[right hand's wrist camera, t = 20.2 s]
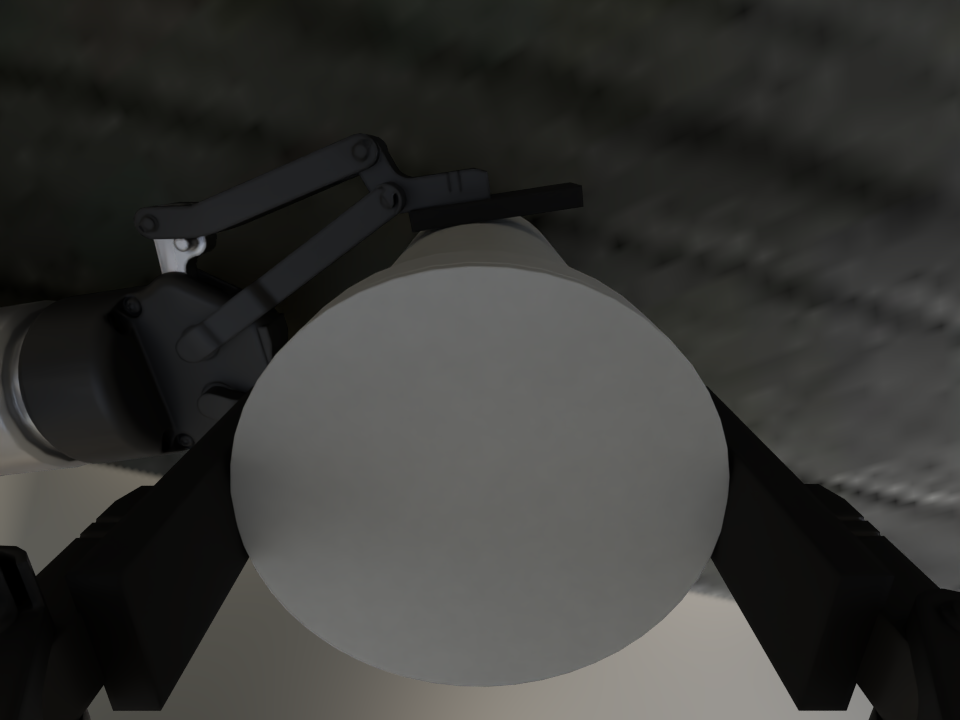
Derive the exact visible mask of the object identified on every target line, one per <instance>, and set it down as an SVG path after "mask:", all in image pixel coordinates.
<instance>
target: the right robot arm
mask: <svg viewBox="0 0 960 720" xmlns="http://www.w3.org/2000/svg"><path fill="white" fill-rule="evenodd" d="M253 387H254V386H252V387H251V388H250V389H249V390H248V391H247V392H246V393H245V394H244V395H243V396H242V397H241V398H240V399H239V400H238V402H237V403H236V404H235V405H234V406H233V407H232V408H231V409H230V410H229V411H228V412H227V413H226V414H225V415H224V416H223V417H222V418H221V419H220V420H219V421H218V422H217V423H216V424H215V425H214V426H213V427H212V428H211V429H210V430H209V431H208V432H207V433H206V434H205V435H204V436H203V437H202V438H201V439H200V440H199V441H198V442H197V443H196V444H195V445H194V446H193V447H192V448H191V449H190V450H189V451H188V452H187V453H186V454H185V455H184V456H183V457H182V458H181V459H180V460H179V461H178V462H177V463H176V464H175V465H174V466H173V467H172V468H171V469H170V470H169V471H168V472H167V473H166V474H165V475H164V476H163V477H162V478H161V479H160V480H159V481H158V482H157V483H156V484H155V485H154V486H140V487H139V488H137V489H135V490H134V491H132V492H130V493H128V494H127V495H125V496H123V497H122V498H120V499H118V500H116V501H115V502H114V503H113V504H112V505H111V506H110V507H109V508H108V509H106V510H105V511H104V512H103V513H102V514H101V515H100V516H99V517H98V518H97V519H96V523H92V524H91V525H90V526H88V527H87V528H86V529H85V530H84V531H83V532H82V533H81V534H80V538H76V539H75V540H74V541H73V542H71V543H70V544H69V545H68V546H67V547H66V548H65V549H64V550H63V551H62V552H61V553H60V554H59V555H58V556H57V557H56V558H55V559H54V560H52V561H51V562H50V563H49V564H48V565H47V566H46V567H45V568H44V569H43V570H42V571H41V572H40V573H39V574H38V575H37V576H35V573H34V571H33V568H32V566H31V563H30V560H29V558H28V555H27V553H26V551H24V550H22V549H20V548H19V547H17V546H0V720H91V719H90V715H89V712H88V710H87V708H88V706H89V705H90V703H91V702H92V700H93V699H94V698H95V696H96V695H97V694H98V692H99V691H100V689H101V688H102V687H103V685H104V687H105V690H106V692H107V695H108V698H109V701H110V703H111V706H112V709H113V711H161V709H162V708H163V706H164V704H165V702H166V701H167V699H168V697H169V696H170V694H171V692H172V690H173V689H174V687H175V685H176V683H177V682H178V680H179V678H180V676H181V675H182V673H183V671H184V669H185V668H186V666H187V664H188V663H189V661H190V659H191V657H192V656H193V654H194V652H195V650H196V649H197V647H198V645H199V643H200V642H201V640H202V638H203V637H204V635H205V633H206V631H207V630H208V628H209V626H210V624H211V623H212V621H213V619H214V617H215V616H216V614H217V612H218V610H219V609H220V607H221V605H222V604H223V602H224V600H225V598H226V597H227V595H228V593H229V591H230V590H231V588H232V586H233V584H234V583H235V581H236V579H237V577H238V576H239V574H240V572H241V571H242V569H243V567H244V565H245V564H246V562H247V560H248V558H249V555H248V553H247V551H246V549H245V547H244V545H243V542H242V539H241V536H240V533H239V530H238V526H237V522H236V517H235V512H234V507H233V502H232V497H231V486H230V462H231V456H232V449H233V442H234V436H235V432H236V429H237V426H238V423H239V420H240V417H241V413H242V410H243V407H244V405H245V403H246V401H247V399H248V397H249V395H250V393H251V391H252V389H253ZM706 388H707V390H708V391H709V393H710V396H711V398H712V400H713V403H714V405H715V408H716V410H717V412H718V415H719V417H720V419H721V424H722V428H723V432H724V436H725V440H726V444H727V449H728V462H729V475H730V478H729V491H728V499H727V505H726V510H725V514H724V519H723V524H722V529H721V532H720V535H719V537H718V540H717V542H716V545H715V547H714V550H713V552H712V555H711V559H712V561H713V562H714V564H715V566H716V568H717V569H718V571H719V573H720V575H721V576H722V578H723V580H724V582H725V583H726V585H727V587H728V589H729V590H730V592H731V594H732V595H733V597H734V599H735V601H736V602H737V604H738V606H739V607H740V609H741V611H742V613H743V615H744V616H745V618H746V620H747V621H748V623H749V625H750V627H751V628H752V630H753V632H754V634H755V635H756V637H757V639H758V641H759V642H760V644H761V646H762V648H763V649H764V651H765V653H766V654H767V656H768V658H769V660H770V661H771V663H772V665H773V667H774V668H775V670H776V672H777V674H778V675H779V677H780V679H781V680H782V682H783V684H784V686H785V687H786V689H787V691H788V693H789V694H790V696H791V698H792V700H793V701H794V703H795V705H796V707H797V708H798V710H799V711H846V710H847V708H848V705H849V702H850V699H851V697H852V694H853V691H854V688H855V686H856V683H857V684H858V686H859V687H860V688H861V690H862V691H863V692H864V694H865V695H866V697H867V698H868V700H869V701H870V702H871V704H872V705H873V710H872V713H871V715H870V718H869V720H960V592H957V591H952V590H947V589H940V588H939V587H938V586H937V585H936V584H935V583H934V582H932V581H931V580H930V579H929V578H928V577H927V576H926V575H925V574H924V573H923V572H922V571H921V570H920V569H919V568H918V567H916V566H915V565H914V564H913V563H912V562H911V561H910V560H909V559H908V558H907V557H906V556H905V555H904V554H903V553H902V552H900V551H899V550H898V549H897V548H896V547H895V546H894V545H893V544H892V543H891V542H890V541H889V540H888V539H887V538H886V537H884V536H880V532H879V531H878V530H877V529H876V528H875V527H874V526H873V525H872V524H871V523H870V522H868V521H864V517H863V516H862V515H861V514H860V513H859V512H858V511H857V510H856V509H855V508H854V507H852V506H851V505H850V504H849V503H848V502H847V501H846V500H845V499H843V498H842V497H840V496H838V495H836V494H835V493H833V492H831V491H830V490H828V489H826V488H824V487H823V486H821V485H819V484H803V483H802V482H801V481H800V480H799V479H798V478H797V477H796V475H795V474H794V473H793V472H792V471H791V470H790V469H789V468H788V467H787V466H786V465H785V464H784V463H783V462H782V461H781V460H780V459H779V458H778V457H777V456H776V455H775V454H774V453H773V452H772V451H771V450H770V449H769V448H768V447H767V446H766V445H765V444H764V443H763V442H762V441H761V440H760V439H759V438H758V437H757V436H756V435H755V434H754V433H753V432H752V431H751V430H750V429H749V428H748V427H747V426H746V425H745V424H744V423H743V422H742V421H741V420H740V419H739V418H738V417H737V416H736V415H735V414H734V413H733V412H732V411H731V410H730V409H729V408H728V407H727V406H726V405H725V404H724V403H723V402H722V401H721V400H720V399H719V398H718V397H717V396H716V395H715V394H714V393H713V392H712V391H711V390H710V389H709V388H708V387H707V386H706Z"/></svg>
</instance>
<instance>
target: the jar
mask: <svg viewBox="0 0 960 720" xmlns="http://www.w3.org/2000/svg"><path fill="white" fill-rule="evenodd" d="M468 250H479V251H505V252H512V253H518V254H524V255H530V256H536V257H539V258H543V259H546V260H549V261H553V262H556V263H559V264H563V265H566V266H568V265H567V264H566V263H565V262H564V260H563V259H562V258H561V257H560V255H559V254H558V253H557V252H556V250H555V249H554V248H553V247H552V246H551V244H550V243H549V242H548V241H547V239H546V238H545V237H544V236H543V235H542V234H541V232H540V231H539V230H538V229H537V228H536V227H534V226H533V225H532V224H531V223H530V222H528V221H527V220H525V219H524V218H522V217H521V216H518V217H511V218H505V219H498V220H492V221H485V222H478V223H472V224H465V225H458V226H452V227H445V228H439V229H432V230H425V231H420V232H419V233H418V234H417V235H416V237H415V238H414V239H413V240H412V242H411V243H410V244H409V245H408V246H407V248H406V249H405V250H404V251H403V253H402V254H401V255H400V256H399V258H398V259H397V260H396V261H395V262H394V264H393V265H392V266H395V265H397V264H400V263H403V262H405V261H409V260H413V259H417V258H421V257H426V256H430V255H434V254H439V253H449V252H458V251H468ZM392 266H391V267H392Z"/></svg>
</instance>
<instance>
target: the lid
mask: <svg viewBox="0 0 960 720" xmlns="http://www.w3.org/2000/svg"><path fill="white" fill-rule="evenodd" d="M729 478H730V475H729V462H728V449H727V444H726V440H725V436H724V432H723V428H722V424H721V419H720V417H719V415H718V412H717V410H716V408H715V405H714V403H713V400H712V398H711V396H710V393H709V391H708V390H707V388H706V386H705V385H704V383H703V382H702V380H701V378H700V377H699V375H698V374H697V372H696V370H695V369H694V367H693V365H692V364H691V363H690V362H689V361H688V360H687V358H686V357H685V356H684V355H683V354H682V353H681V351H680V350H679V349H678V348H677V347H676V346H675V344H674V343H673V342H672V341H671V340H670V339H669V338H668V337H667V336H666V335H665V334H664V333H663V332H662V331H661V330H660V329H659V328H658V327H657V326H655V325H654V324H653V323H652V322H651V321H650V320H649V319H648V318H647V317H646V316H645V315H644V314H643V313H642V312H640V311H639V310H638V309H637V308H636V307H635V306H633V305H632V304H631V303H630V302H629V301H628V300H626V299H625V298H624V297H623V296H622V295H620V294H619V293H617V292H615V291H614V290H612V289H611V288H609V287H608V286H606V285H604V284H603V283H601V282H600V281H598V280H597V279H595V278H593V277H590V276H588V275H586V274H584V273H582V272H579V271H577V270H575V269H573V268H571V267H569V266H566V265H563V264H559V263H556V262H553V261H549V260H546V259H543V258H539V257H536V256H530V255H524V254H518V253H512V252H505V251H479V250H468V251H458V252H449V253H439V254H434V255H430V256H426V257H421V258H417V259H413V260H409V261H405V262H403V263H400V264H397V265H395V266H392V267H390V268H387V269H385V270H382V271H379V272H377V273H375V274H373V275H371V276H369V277H367V278H366V279H364V280H362V281H360V282H359V283H357V284H355V285H353V286H351V287H350V288H348V289H347V290H345V291H344V292H343V293H341V294H340V295H339V296H337V297H336V298H335V299H333V300H332V301H331V302H329V303H328V304H327V305H325V306H324V307H323V308H322V309H321V310H320V311H319V312H318V313H317V314H316V315H315V316H314V317H313V318H312V319H311V320H309V321H308V322H307V323H306V324H305V325H304V326H303V327H302V328H301V329H300V330H299V331H298V332H297V333H296V334H295V335H294V336H293V337H292V338H291V339H290V340H289V341H288V342H287V343H286V344H285V345H284V346H283V347H282V348H281V349H280V350H279V351H278V353H277V354H276V355H275V356H274V357H273V359H272V360H271V362H270V363H269V364H268V366H267V367H266V369H265V370H264V371H263V373H262V374H261V376H260V377H259V378H258V380H257V381H256V383H255V385H254V387H253V389H252V391H251V393H250V395H249V397H248V399H247V401H246V403H245V405H244V407H243V410H242V413H241V417H240V420H239V423H238V426H237V429H236V432H235V436H234V442H233V449H232V456H231V462H230V486H231V497H232V502H233V507H234V512H235V517H236V522H237V526H238V530H239V533H240V536H241V539H242V542H243V545H244V547H245V549H246V551H247V553H248V555H249V557H250V559H251V561H252V563H253V565H254V567H255V569H256V571H257V572H258V574H259V575H260V577H261V578H262V580H263V581H264V583H265V584H266V586H267V587H268V588H269V590H270V591H271V593H272V594H273V595H274V596H275V597H276V598H277V599H278V601H279V602H280V603H281V604H282V605H283V606H284V607H285V609H286V610H287V611H288V612H289V613H290V614H291V615H293V616H294V617H295V618H296V619H297V620H298V621H299V622H300V623H302V624H303V625H304V626H305V627H306V628H307V629H308V630H310V631H311V632H313V633H314V634H315V635H317V636H318V637H320V638H321V639H323V640H324V641H325V642H327V643H328V644H330V645H331V646H333V647H335V648H337V649H338V650H340V651H342V652H344V653H346V654H347V655H349V656H351V657H353V658H355V659H357V660H359V661H362V662H364V663H366V664H369V665H371V666H373V667H376V668H378V669H381V670H384V671H387V672H390V673H394V674H397V675H400V676H403V677H407V678H411V679H416V680H421V681H426V682H430V683H438V684H446V685H455V686H483V687H489V686H503V685H516V684H521V683H527V682H533V681H539V680H544V679H548V678H551V677H555V676H559V675H563V674H566V673H570V672H572V671H575V670H578V669H580V668H583V667H586V666H588V665H591V664H594V663H596V662H598V661H600V660H602V659H604V658H606V657H608V656H610V655H612V654H614V653H616V652H618V651H620V650H621V649H623V648H624V647H626V646H628V645H629V644H631V643H632V642H634V641H635V640H637V639H639V638H640V637H642V636H643V635H644V634H645V633H647V632H648V631H649V630H650V629H652V628H653V627H654V626H655V625H657V624H658V623H659V622H660V621H662V620H663V619H664V618H665V617H666V616H667V615H668V614H669V613H670V612H671V611H672V610H673V609H674V608H675V607H676V606H677V605H678V603H680V601H681V600H682V599H683V598H684V597H685V595H686V594H687V593H688V591H689V590H690V589H691V587H692V586H693V585H694V583H695V582H696V581H697V580H698V578H699V576H700V574H701V573H702V571H703V569H704V567H705V566H706V564H707V562H708V560H709V559H710V557H711V555H712V552H713V550H714V547H715V545H716V542H717V540H718V537H719V535H720V532H721V529H722V524H723V519H724V514H725V510H726V505H727V499H728V491H729Z"/></svg>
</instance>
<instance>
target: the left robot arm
mask: <svg viewBox="0 0 960 720" xmlns="http://www.w3.org/2000/svg"><path fill="white" fill-rule="evenodd" d="M359 175H360V177H361V179H362V180H363V182H364V184H365V185H366V187H367V189H368V190H369V192H370V193H368V194H367V195H366V196H365V197H363V198H362V199H361V200H359V201H358V202H357V203H355V204H354V205H353V206H352V207H350V208H349V209H348V210H346V211H345V212H344V213H343V214H341V215H340V216H339V217H337V218H336V219H335V220H334V221H332V222H331V223H330V224H328V225H327V226H326V227H325V228H323V229H322V230H321V231H319V232H318V233H317V234H315V235H314V236H313V237H312V238H310V239H309V240H308V241H306V242H305V243H304V244H303V245H301V246H300V247H299V248H297V249H296V250H295V251H294V252H292V253H291V254H290V255H288V256H287V257H286V258H285V259H283V260H282V261H281V262H279V263H278V264H277V265H275V266H274V267H273V268H272V269H270V270H269V271H268V272H266V273H265V274H264V275H263V276H261V277H260V278H259V279H257V280H256V281H254V282H253V283H251V284H250V285H249V286H247V287H246V288H244V289H243V290H242V289H240V288H238V287H236V286H234V285H232V284H230V283H228V282H225V281H223V280H221V279H219V278H217V277H215V276H213V275H211V274H209V273H206V272H204V271H202V270H200V269H197V264H196V263H197V259H198V258H199V256H200V255H202V254H204V253H207V252H210V251H211V250H213V249H214V247H215V245H216V239H217V235H216V233H218V232H221V231H225V230H228V229H232V228H235V227H238V226H241V225H244V224H246V223H248V222H251V221H253V220H255V219H258V218H260V217H263V216H265V215H267V214H270V213H272V212H274V211H277V210H279V209H281V208H284V207H286V206H288V205H291V204H293V203H295V202H298V201H300V200H302V199H305V198H307V197H309V196H312V195H314V194H317V193H319V192H321V191H324V190H326V189H328V188H331V187H333V186H335V185H338V184H340V183H342V182H345V181H347V180H349V179H352V178H354V177H356V176H359ZM578 207H583V194H582V186H581V185H577V184H574V183H563V184H557V185H550V186H544V187H537V188H531V189H524V190H518V191H511V192H505V193H498V194H492V195H490V188H489V180H488V173H487V171H484V170H480V169H476V168H470V169H464V170H457V171H451V172H445V173H438V174H432V175H425V176H419V177H411V176H407V175H405V174H403V173H402V172H401V171H400V170H399V169H398V168H397V166H396V165H395V163H394V161H393V159H392V157H391V156H390V154H389V152H388V149H387V145H386V144H385V142H384V141H383V140H382V139H380V138H379V137H376V136H372V135H367V134H361V133H359V134H354V135H351V136H349V137H347V138H345V139H342V140H340V141H338V142H336V143H333V144H331V145H329V146H326V147H324V148H322V149H320V150H317V151H315V152H313V153H310V154H308V155H306V156H304V157H301V158H299V159H297V160H294V161H292V162H290V163H288V164H285V165H283V166H281V167H278V168H276V169H274V170H272V171H269V172H267V173H265V174H262V175H260V176H258V177H256V178H253V179H251V180H249V181H246V182H244V183H242V184H240V185H237V186H235V187H233V188H230V189H228V190H226V191H224V192H221V193H219V194H217V195H214V196H212V197H210V198H208V199H205V200H203V201H201V202H178V203H171V204H164V205H158V206H151V207H145V208H141V209H139V210H138V211H137V212H136V213H135V216H134V225H135V227H136V229H137V231H138V232H139V233H140V234H141V235H142V236H144V237H146V238H148V239H153V240H154V242H155V246H156V250H157V254H158V258H159V263H160V267H161V271H162V274H161V275H159V276H158V277H156V278H155V279H154V280H153V281H152V282H151V283H150V284H149V285H145V286H139V287H132V288H125V289H118V290H112V291H105V292H98V293H92V294H85V295H78V296H72V297H67V298H63V299H60V300H58V301H48V300H44V301H38V302H32V303H25V304H19V305H13V306H6V307H0V476H3V475H11V474H20V473H29V472H37V471H46V470H55V469H64V468H73V467H79V466H83V465H86V464H89V463H107V462H114V461H122V460H130V459H137V458H145V457H152V456H160V455H166V454H171V453H176V452H179V451H183V450H187V449H191V448H192V447H193V446H194V445H195V444H196V443H197V442H198V441H199V440H200V439H201V438H202V437H203V436H204V435H205V434H206V433H207V432H208V431H209V430H210V429H211V428H212V427H213V426H214V425H215V424H216V423H217V422H218V421H219V420H220V419H221V418H222V417H223V416H224V415H225V414H226V413H227V412H228V411H229V410H230V409H231V408H232V407H233V406H234V405H235V404H236V403H237V402H238V400H239V399H240V398H241V397H242V396H243V395H244V394H245V393H246V392H247V391H248V390H249V389H250V388H251V387H252V386H254V385H255V383H256V381H257V380H258V378H259V377H260V376H261V374H262V373H263V371H264V370H265V369H266V367H267V366H268V364H269V363H270V362H271V360H272V359H273V357H274V356H275V355H276V354H277V353H278V351H279V350H280V349H281V348H282V347H283V346H284V345H285V344H286V343H287V342H288V328H287V324H286V321H285V318H284V314H283V313H281V314H278V313H277V311H276V310H275V309H274V307H275V306H277V305H278V304H279V303H281V302H282V301H283V300H285V299H286V298H287V297H289V296H290V295H291V294H293V293H294V292H295V291H296V290H298V289H299V288H300V287H302V286H303V285H304V284H306V283H307V282H308V281H310V280H311V279H312V278H314V277H315V276H316V275H318V274H319V273H320V272H322V271H323V270H324V269H326V268H327V267H328V266H330V265H331V264H332V263H334V262H335V261H336V260H338V259H339V258H340V257H342V256H343V255H344V254H346V253H347V252H348V251H349V250H351V249H352V248H353V247H355V246H356V245H357V244H359V243H360V242H361V241H363V240H364V239H365V238H367V237H368V236H369V235H371V234H372V233H373V232H375V231H376V230H377V229H379V228H380V227H381V226H383V225H384V224H385V223H387V222H388V221H389V220H391V219H392V218H393V217H395V216H396V215H397V214H399V213H406V212H409V216H410V221H411V227H412V232H419V231H425V230H432V229H439V228H445V227H452V226H458V225H465V224H472V223H478V222H485V221H492V220H498V219H505V218H511V217H518V216H525V215H531V214H538V213H544V212H551V211H558V210H564V209H571V208H578Z"/></svg>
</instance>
